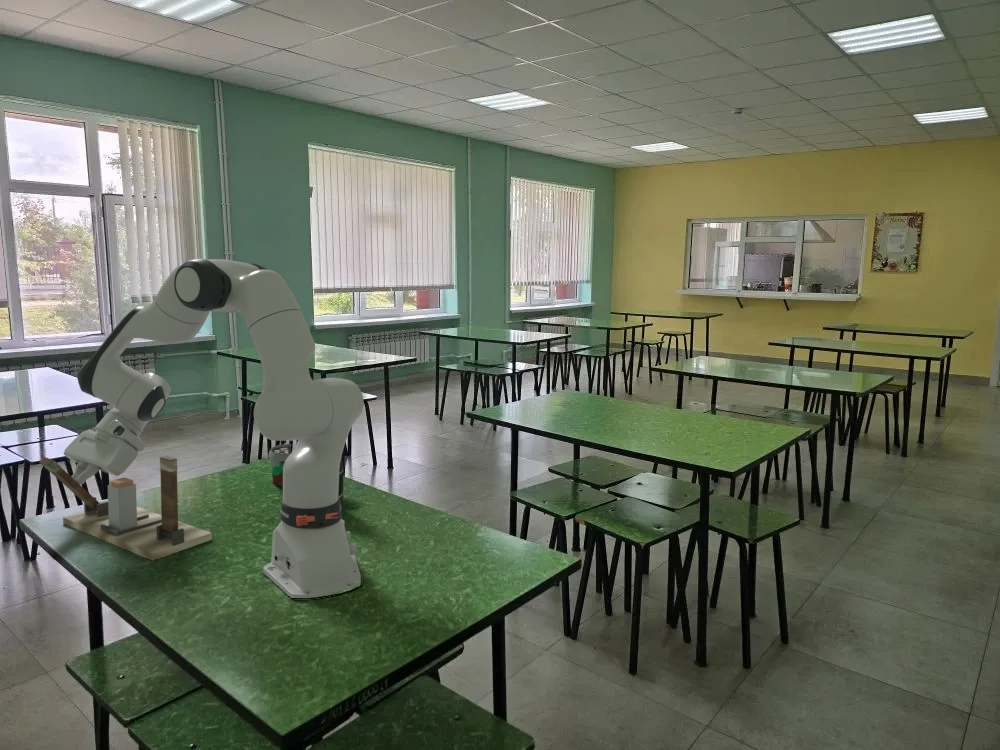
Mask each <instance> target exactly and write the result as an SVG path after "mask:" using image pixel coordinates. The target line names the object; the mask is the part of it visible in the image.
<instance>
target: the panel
mask: <svg viewBox="0 0 1000 750" xmlns="http://www.w3.org/2000/svg"><path fill="white" fill-rule="evenodd" d="M93 497H94V498H95V499H96V500H97V497H96V496H93ZM83 507H84V508H83V509H84V511H81V512H78V513H74V514H70V515H67V516H63V517H62V522H63V523H62V524H63V525H65V524H66V525H65V526H67V525H68V527H69V526H70V528H72V527H73V528H72V529H74V528H75V530H77V531H80V532H82V533H85V534H86V535H89V536H91V535H92V537H94V536H95V537H94V538H96V537H97V539H99V540H101V539H102V540H101V541H104V540H105V541H104V542H106V541H107V542H106V543H108V542H109V544H111V543H112V544H111V545H113V544H114V545H113V546H116V545H117V546H116V547H118V546H119V547H118V548H121V549H123V550H125V549H126V551H128V552H130V551H131V553H133V554H135V555H137V556H140V557H142V558H145V559H148V560H150V561H153V562H154V561H155V559H156V560H159V559H162V558H165V557H168V556H169V555H172V554H176V553H178V552H180V551H181V552H182V551H184V550H187V549H189V548H190V549H191V548H192V547H195V546H197V545H201V544H204V543H206V542H210V541H212V540H213V539H212V536H213V535H212V534H213V533H212V532H211V531H208V530H205V529H201V528H200V527H196V526H193V525H190V524H188V523H185V522H182V521H179V520H178V530H175V531H172V532H171V539H169V538H166V537H163V536H162V535H161V531H162V530H163V529H162V516H161V514H159V513H156V512H155V511H151V510H148V509H146V508H145V509H144V508H142V507H139V506H137V527H133V528H130V529H127V530H123V531H120V532H119V530H117V529H114V528H111V527H109V510H108V500H106V501H103V502H99V504H96V507H97V511H94V510H92V509H89V508H88V505H86V504H85V503H84V502H83ZM161 557H162V558H161Z"/></svg>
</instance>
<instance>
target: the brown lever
mask: <svg viewBox="0 0 1000 750" xmlns="http://www.w3.org/2000/svg"><path fill="white" fill-rule="evenodd" d="M159 469H160V470H159V471H160V501H161V502H160V503H161V504H160V505H161V507H160V509H161V510H160V511H161V514H160V515H161V516H162V529H163V530H162V531H161V535H162V536H163V537H166V538H169V539H171V532H172V531H175V530H178V521H179V509H178V508H179V504H178V502H179V500H178V496H179V495H178V459H177V458H176V457H173V456H170V455H164V456H160V457H159Z"/></svg>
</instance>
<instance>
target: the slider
mask: <svg viewBox="0 0 1000 750" xmlns="http://www.w3.org/2000/svg"><path fill="white" fill-rule="evenodd" d="M109 483H110V484H108V485H107V502H108V510H109V527H111V528H114V529H117V530H119V532H120V531H123V530H127V529H130V528H133V527H137V507H138V502H137V501H138V500H137V484H135V483H134V480H133V479H131V478H127V477H121V478H116V479H113V480H110V481H109Z"/></svg>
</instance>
